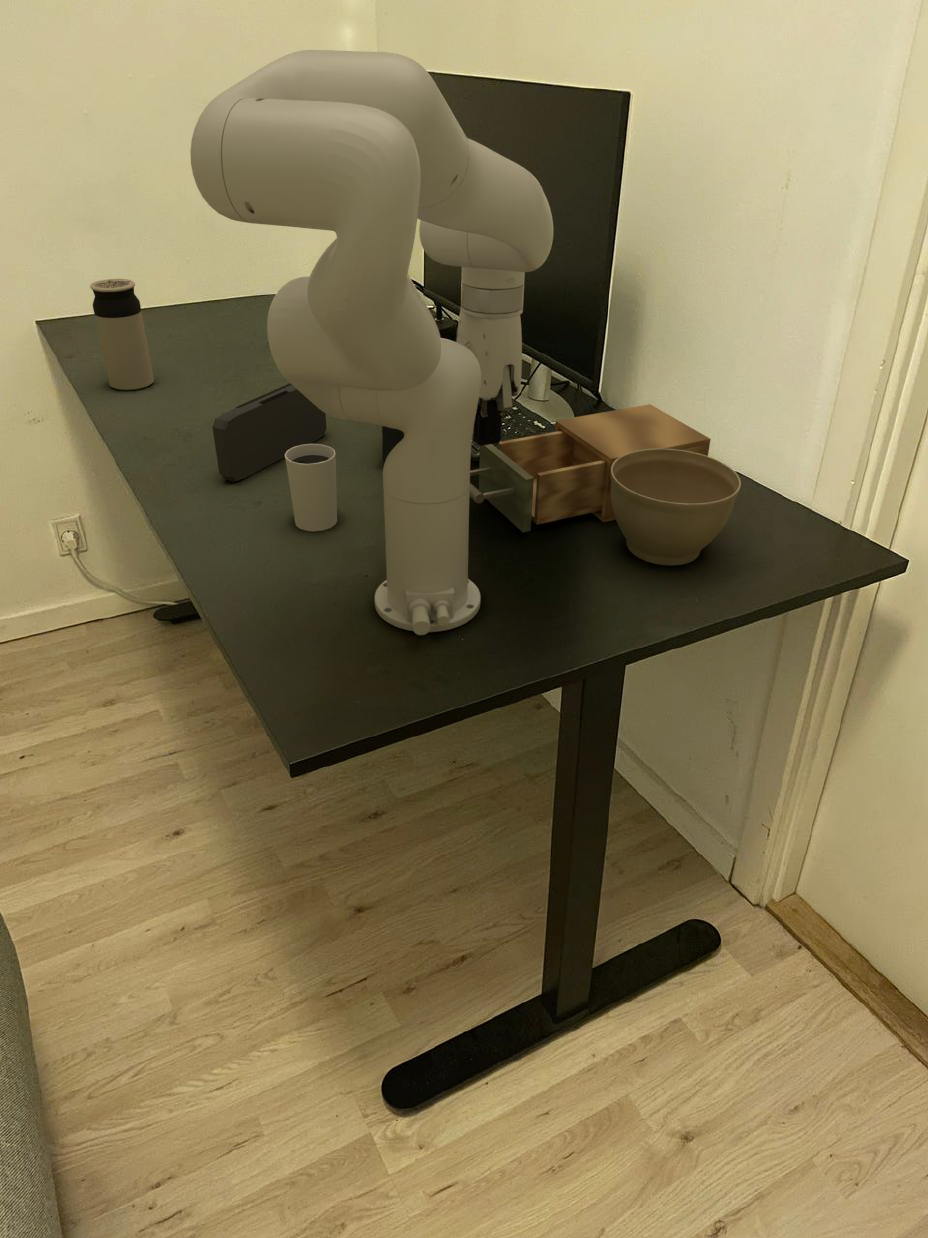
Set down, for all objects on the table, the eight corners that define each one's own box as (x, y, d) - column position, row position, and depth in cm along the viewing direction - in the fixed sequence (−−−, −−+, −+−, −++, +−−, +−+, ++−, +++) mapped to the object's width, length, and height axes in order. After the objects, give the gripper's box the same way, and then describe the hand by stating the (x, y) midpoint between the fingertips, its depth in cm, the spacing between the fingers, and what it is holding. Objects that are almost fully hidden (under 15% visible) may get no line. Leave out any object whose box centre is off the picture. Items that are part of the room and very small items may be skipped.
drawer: (483, 541, 120) (485, 487, 115) (441, 499, 130) (441, 448, 125) (620, 510, 127) (626, 459, 123) (570, 473, 137) (574, 424, 133)
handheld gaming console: (315, 431, 152) (310, 372, 146) (328, 434, 151) (324, 375, 145) (218, 481, 135) (208, 417, 130) (232, 485, 134) (222, 421, 129)
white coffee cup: (327, 536, 122) (321, 467, 116) (282, 528, 124) (275, 459, 118) (348, 514, 127) (344, 447, 122) (305, 507, 129) (299, 440, 123)
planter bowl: (634, 589, 112) (645, 509, 106) (583, 528, 125) (591, 454, 119) (749, 571, 116) (766, 494, 110) (689, 514, 129) (701, 442, 123)
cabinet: (603, 522, 126) (610, 458, 121) (550, 480, 137) (555, 420, 132) (700, 500, 133) (711, 438, 127) (642, 462, 143) (650, 403, 138)
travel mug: (156, 388, 168) (138, 287, 158) (111, 393, 165) (89, 291, 155) (152, 374, 174) (134, 276, 164) (108, 379, 171) (87, 279, 161)
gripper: (438, 286, 114) (437, 427, 124) (492, 316, 103) (486, 467, 113) (492, 282, 117) (487, 419, 127) (550, 310, 105) (539, 458, 115)
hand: (486, 441), depth 120 cm, fingers closed
